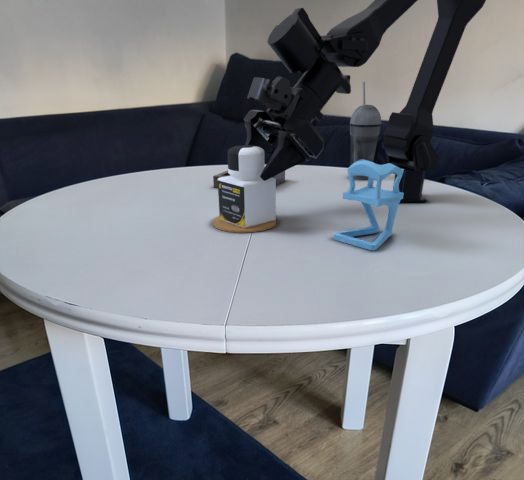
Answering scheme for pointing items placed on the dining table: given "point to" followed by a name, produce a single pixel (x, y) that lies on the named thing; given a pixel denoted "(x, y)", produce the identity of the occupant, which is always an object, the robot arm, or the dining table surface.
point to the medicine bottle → (246, 189)
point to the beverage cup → (364, 133)
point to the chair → (372, 201)
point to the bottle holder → (279, 177)
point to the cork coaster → (233, 228)
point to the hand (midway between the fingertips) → (250, 173)
